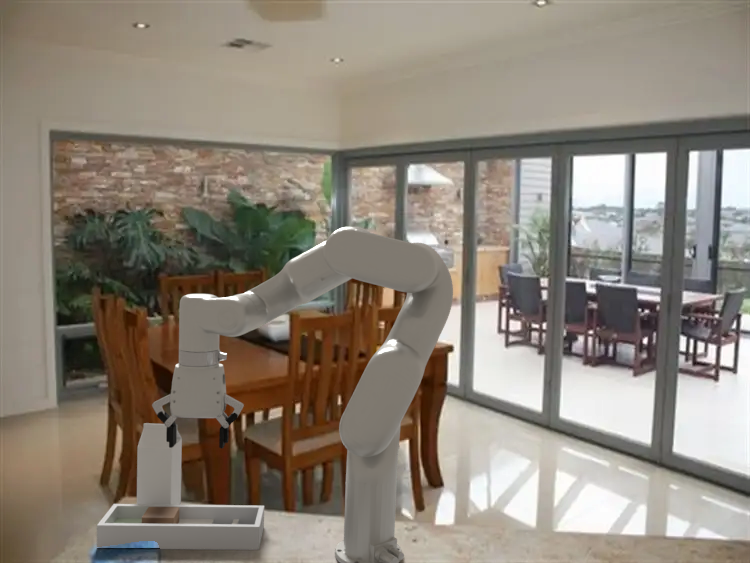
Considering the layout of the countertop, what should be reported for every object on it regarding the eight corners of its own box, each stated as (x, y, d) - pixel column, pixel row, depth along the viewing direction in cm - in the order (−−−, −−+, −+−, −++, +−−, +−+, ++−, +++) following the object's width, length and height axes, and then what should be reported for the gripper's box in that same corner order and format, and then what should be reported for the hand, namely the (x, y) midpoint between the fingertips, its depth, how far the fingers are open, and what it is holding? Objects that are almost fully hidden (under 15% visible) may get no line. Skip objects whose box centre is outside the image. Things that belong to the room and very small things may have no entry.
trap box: (263, 526, 140) (264, 505, 140) (258, 549, 130) (259, 526, 130) (113, 525, 138) (113, 503, 138) (96, 548, 128) (96, 525, 128)
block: (179, 521, 136) (179, 507, 136) (173, 532, 131) (173, 517, 131) (148, 521, 136) (148, 506, 136) (141, 532, 131) (141, 517, 131)
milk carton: (170, 519, 142) (171, 429, 140) (136, 518, 142) (137, 428, 141) (180, 506, 149) (182, 420, 148) (148, 504, 149) (149, 418, 148)
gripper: (247, 355, 136) (245, 440, 137) (158, 353, 135) (157, 439, 136) (242, 363, 129) (240, 452, 130) (147, 361, 128) (146, 451, 129)
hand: (197, 445), depth 133 cm, fingers open, 9 cm apart
